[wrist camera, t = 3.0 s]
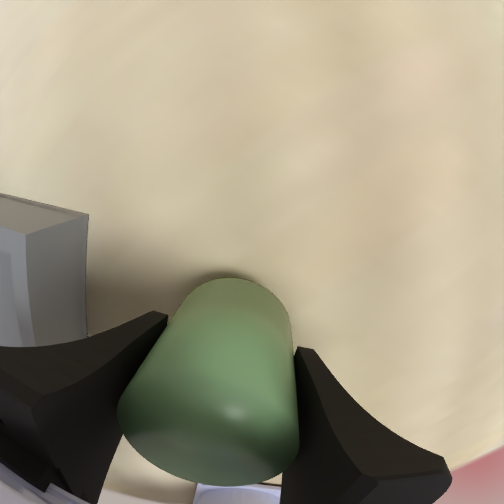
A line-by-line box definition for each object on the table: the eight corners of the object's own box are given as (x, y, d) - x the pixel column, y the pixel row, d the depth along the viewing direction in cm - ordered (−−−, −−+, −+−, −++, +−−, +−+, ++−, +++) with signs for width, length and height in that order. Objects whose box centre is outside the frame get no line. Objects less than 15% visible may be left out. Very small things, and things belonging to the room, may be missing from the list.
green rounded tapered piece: (274, 385, 13) (270, 495, 7) (172, 361, 13) (123, 459, 7) (305, 293, 12) (328, 399, 6) (185, 264, 12) (112, 346, 6)
